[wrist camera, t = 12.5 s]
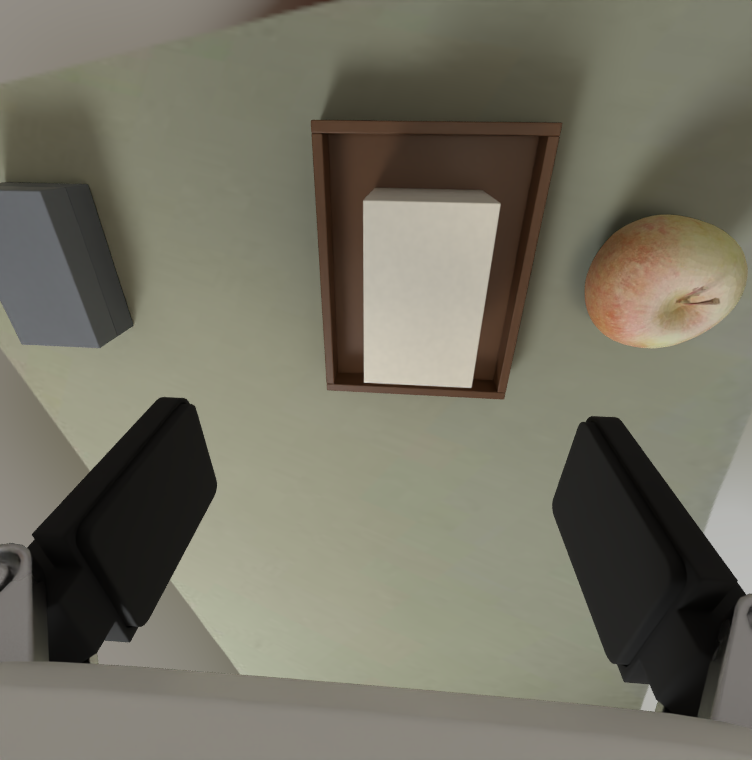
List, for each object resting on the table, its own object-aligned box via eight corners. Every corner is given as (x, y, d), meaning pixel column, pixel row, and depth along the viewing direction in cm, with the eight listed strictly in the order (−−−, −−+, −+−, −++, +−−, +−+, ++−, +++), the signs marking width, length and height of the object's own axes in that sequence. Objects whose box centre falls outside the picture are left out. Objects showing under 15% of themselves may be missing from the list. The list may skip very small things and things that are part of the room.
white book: (366, 195, 21) (363, 200, 20) (494, 197, 21) (501, 203, 19) (366, 367, 27) (363, 382, 25) (467, 372, 26) (471, 388, 24)
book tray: (319, 121, 24) (310, 119, 22) (550, 123, 23) (563, 122, 21) (332, 375, 32) (326, 390, 30) (498, 383, 32) (504, 399, 30)
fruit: (657, 176, 24) (757, 191, 17) (713, 266, 26) (821, 312, 19) (544, 266, 27) (589, 310, 20) (603, 339, 29) (662, 401, 22)
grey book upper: (-24, 185, 25) (-56, 188, 23) (65, 187, 25) (39, 190, 23) (43, 333, 30) (21, 344, 28) (117, 336, 30) (99, 348, 28)
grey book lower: (4, 182, 27) (-24, 185, 25) (88, 184, 26) (65, 187, 25) (63, 322, 32) (43, 333, 30) (133, 325, 31) (117, 336, 30)
